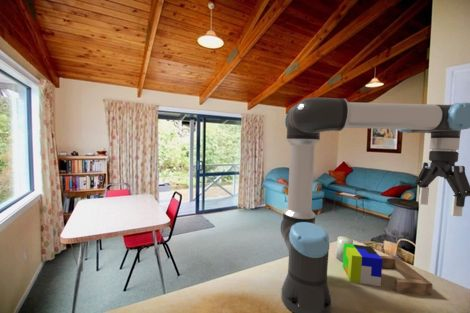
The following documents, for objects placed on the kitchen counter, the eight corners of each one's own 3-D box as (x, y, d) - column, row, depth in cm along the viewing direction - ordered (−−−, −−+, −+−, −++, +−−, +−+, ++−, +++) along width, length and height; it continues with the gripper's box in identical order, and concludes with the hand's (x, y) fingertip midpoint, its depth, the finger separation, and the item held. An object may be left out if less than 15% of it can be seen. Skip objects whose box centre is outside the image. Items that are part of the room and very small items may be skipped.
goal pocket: (397, 293, 75) (398, 281, 74) (368, 264, 93) (369, 255, 92) (431, 295, 74) (432, 284, 74) (395, 265, 92) (396, 256, 92)
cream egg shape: (339, 262, 93) (341, 241, 93) (334, 255, 99) (335, 236, 99) (354, 263, 93) (355, 242, 92) (347, 256, 99) (349, 236, 98)
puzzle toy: (380, 286, 78) (382, 259, 78) (350, 281, 80) (352, 255, 80) (369, 270, 88) (371, 246, 87) (342, 266, 90) (344, 243, 89)
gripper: (494, 152, 65) (487, 222, 66) (426, 149, 89) (421, 200, 91) (467, 151, 65) (460, 221, 66) (407, 149, 90) (402, 200, 91)
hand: (438, 209), depth 78 cm, fingers open, 13 cm apart
